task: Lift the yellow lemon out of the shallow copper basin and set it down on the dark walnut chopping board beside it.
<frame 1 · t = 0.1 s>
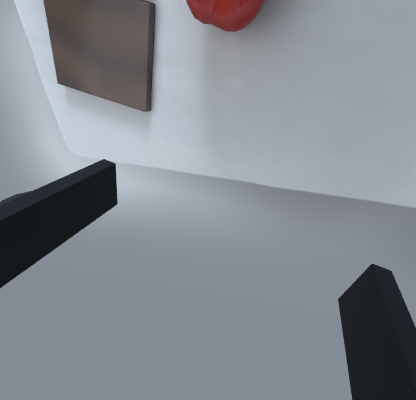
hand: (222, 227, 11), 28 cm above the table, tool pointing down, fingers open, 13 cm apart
board: (102, 49, 38), on the table
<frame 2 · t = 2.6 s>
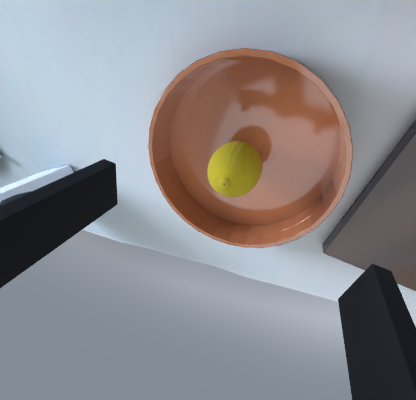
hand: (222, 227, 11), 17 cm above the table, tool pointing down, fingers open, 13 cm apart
milk carton: (69, 183, 42), on the table
basin: (244, 155, 27), on the table
lemon: (243, 156, 27), resting on basin
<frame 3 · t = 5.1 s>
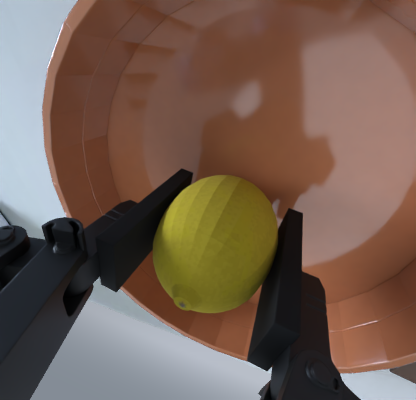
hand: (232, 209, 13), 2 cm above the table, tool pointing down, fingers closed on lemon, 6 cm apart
basin: (239, 194, 14), on the table
lemon: (239, 195, 14), resting on basin, touching gripper
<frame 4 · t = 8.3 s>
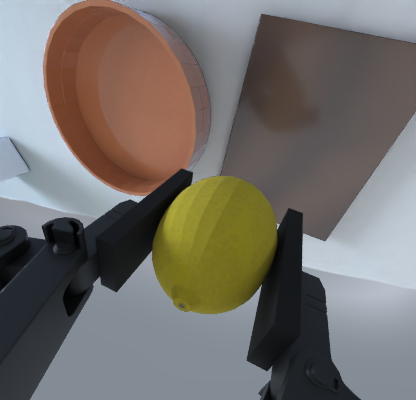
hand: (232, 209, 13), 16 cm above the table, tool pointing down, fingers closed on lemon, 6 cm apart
milk carton: (12, 156, 45), on the table
board: (299, 144, 25), on the table
basin: (137, 111, 30), on the table
lemon: (238, 196, 14), point 14 cm above the table, touching gripper
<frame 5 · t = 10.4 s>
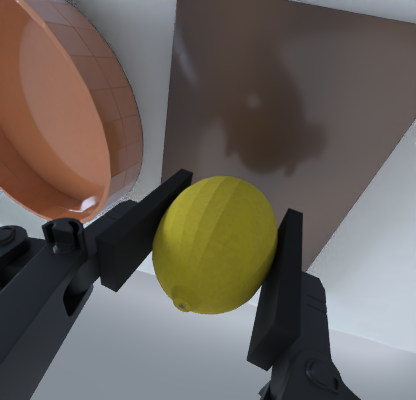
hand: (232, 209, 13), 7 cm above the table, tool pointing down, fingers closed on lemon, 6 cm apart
board: (253, 166, 18), on the table
basin: (57, 118, 23), on the table
lemon: (239, 196, 14), point 5 cm above the table, touching gripper
when the fingers open (3 cm above the table, at t = 11.7 s): lemon stays where it is, resting on board.
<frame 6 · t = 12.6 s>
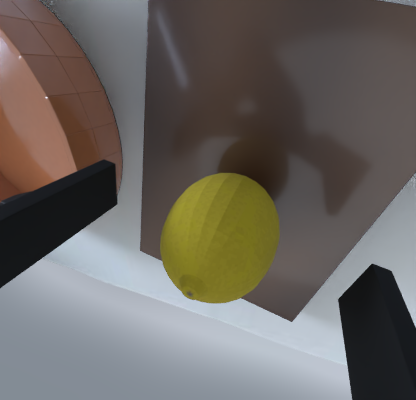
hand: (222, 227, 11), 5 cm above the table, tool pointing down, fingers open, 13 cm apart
board: (246, 184, 16), on the table
basin: (29, 125, 21), on the table
lemon: (241, 193, 15), point 1 cm above the table, touching board
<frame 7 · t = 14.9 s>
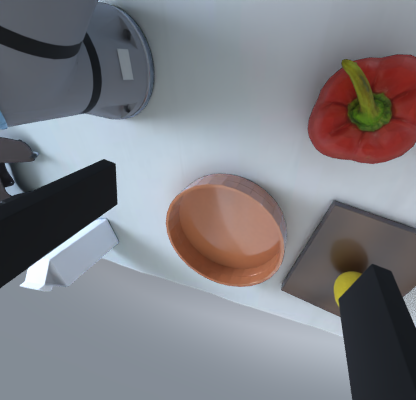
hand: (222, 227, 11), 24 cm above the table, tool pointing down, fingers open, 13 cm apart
vegetable: (354, 106, 26), on the table
milk carton: (105, 230, 57), on the table
board: (350, 267, 36), on the table
basin: (227, 226, 41), on the table
lemon: (351, 273, 35), point 1 cm above the table, touching board
laptop tray: (22, 172, 59), on the table
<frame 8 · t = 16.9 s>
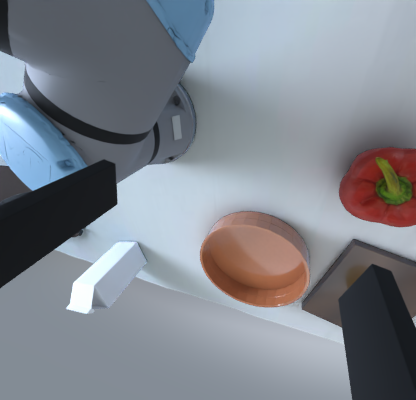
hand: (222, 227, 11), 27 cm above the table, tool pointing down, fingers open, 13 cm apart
vegetable: (375, 168, 31), on the table
milk carton: (133, 250, 62), on the table
board: (365, 292, 41), on the table
basin: (254, 254, 46), on the table
laptop tray: (53, 196, 63), on the table
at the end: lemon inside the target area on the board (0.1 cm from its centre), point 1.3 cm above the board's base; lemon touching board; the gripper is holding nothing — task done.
